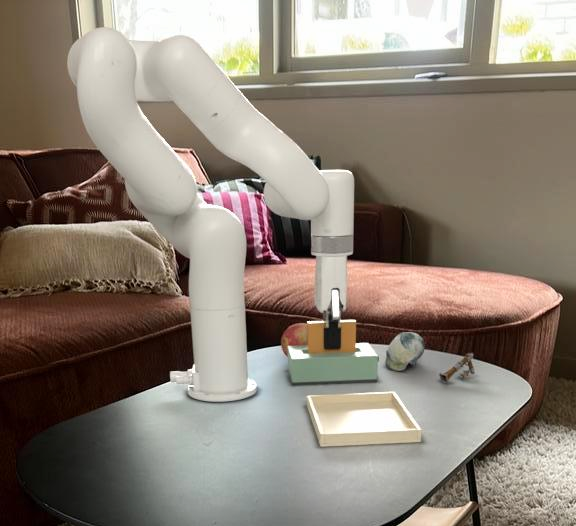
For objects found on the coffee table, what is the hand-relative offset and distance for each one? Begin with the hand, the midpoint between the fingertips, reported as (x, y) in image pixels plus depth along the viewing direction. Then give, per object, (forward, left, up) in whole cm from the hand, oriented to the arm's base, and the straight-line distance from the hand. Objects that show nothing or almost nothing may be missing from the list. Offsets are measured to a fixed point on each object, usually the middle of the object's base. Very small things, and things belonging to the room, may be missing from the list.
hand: (331, 346), depth 144 cm
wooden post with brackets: (+23, -6, -6) cm, 24 cm away
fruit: (-5, +10, -6) cm, 13 cm away
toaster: (0, 0, -6) cm, 6 cm away
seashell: (+16, +6, -6) cm, 18 cm away
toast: (0, 0, -5) cm, 5 cm away
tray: (+1, -28, -6) cm, 28 cm away
